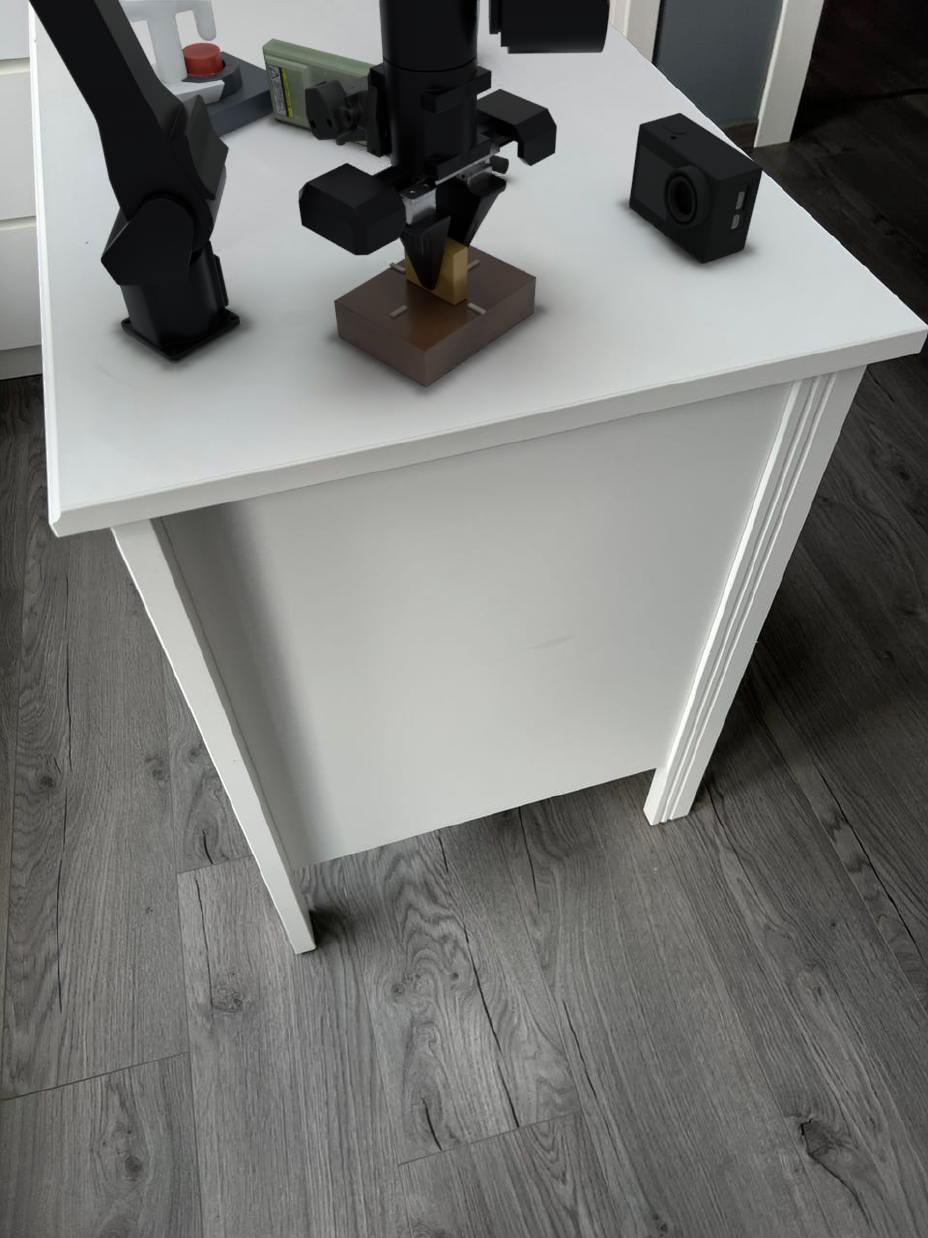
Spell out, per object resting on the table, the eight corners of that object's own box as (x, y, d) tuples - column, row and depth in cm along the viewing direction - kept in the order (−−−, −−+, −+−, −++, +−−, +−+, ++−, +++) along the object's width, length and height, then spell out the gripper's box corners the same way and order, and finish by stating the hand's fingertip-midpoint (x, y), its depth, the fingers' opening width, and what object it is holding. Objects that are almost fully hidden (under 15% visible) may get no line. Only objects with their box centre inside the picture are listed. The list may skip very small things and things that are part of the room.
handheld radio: (290, 107, 97) (516, 171, 89) (269, 122, 95) (498, 189, 87) (278, 33, 91) (517, 95, 83) (256, 48, 90) (498, 112, 82)
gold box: (467, 297, 72) (467, 243, 68) (454, 305, 71) (453, 251, 68) (419, 270, 74) (416, 216, 70) (405, 278, 73) (402, 224, 70)
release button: (201, 82, 92) (197, 62, 91) (176, 70, 94) (172, 50, 92) (231, 69, 94) (227, 49, 93) (207, 58, 95) (203, 38, 94)
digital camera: (615, 208, 85) (625, 125, 79) (667, 192, 87) (680, 109, 81) (690, 268, 79) (706, 183, 74) (744, 249, 81) (763, 165, 75)
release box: (195, 148, 92) (185, 103, 89) (129, 114, 96) (118, 71, 93) (292, 103, 97) (286, 59, 94) (226, 73, 101) (219, 30, 98)
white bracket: (243, 120, 95) (211, -63, 83) (146, 144, 92) (99, -42, 80) (216, 91, 99) (181, -88, 87) (122, 113, 96) (74, -69, 84)
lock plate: (427, 387, 70) (425, 350, 68) (336, 335, 74) (332, 297, 71) (535, 312, 76) (537, 275, 73) (446, 267, 79) (445, 230, 77)
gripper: (443, -26, 68) (447, 194, 80) (222, 60, 59) (265, 292, 71) (569, 19, 63) (553, 247, 75) (348, 121, 54) (370, 358, 67)
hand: (436, 282), depth 72 cm, fingers closed on gold box
